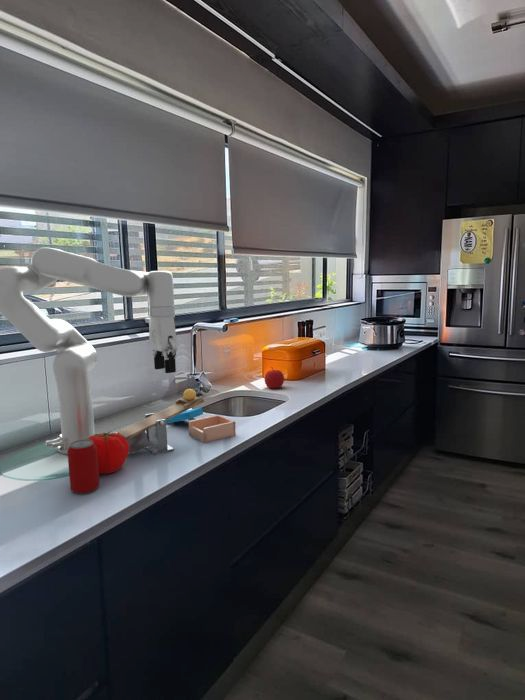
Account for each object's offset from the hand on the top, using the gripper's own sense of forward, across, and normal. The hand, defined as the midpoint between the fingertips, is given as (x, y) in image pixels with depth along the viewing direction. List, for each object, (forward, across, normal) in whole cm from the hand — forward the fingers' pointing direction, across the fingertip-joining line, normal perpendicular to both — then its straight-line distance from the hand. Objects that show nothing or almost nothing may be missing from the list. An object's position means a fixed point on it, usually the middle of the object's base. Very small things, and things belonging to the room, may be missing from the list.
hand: (165, 370), depth 144 cm
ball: (+9, 0, +8) cm, 12 cm away
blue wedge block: (+24, -16, +14) cm, 32 cm away
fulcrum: (+24, 0, -4) cm, 24 cm away
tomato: (+24, +8, -22) cm, 33 cm away
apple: (+24, -40, +72) cm, 86 cm away
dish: (+24, 0, +16) cm, 28 cm away
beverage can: (+24, +16, -30) cm, 42 cm away
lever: (+19, 0, 0) cm, 19 cm away
